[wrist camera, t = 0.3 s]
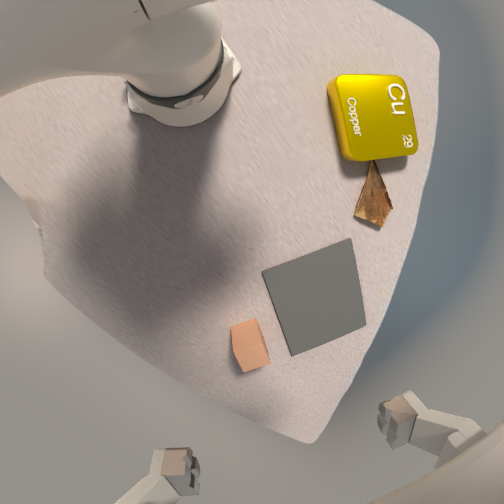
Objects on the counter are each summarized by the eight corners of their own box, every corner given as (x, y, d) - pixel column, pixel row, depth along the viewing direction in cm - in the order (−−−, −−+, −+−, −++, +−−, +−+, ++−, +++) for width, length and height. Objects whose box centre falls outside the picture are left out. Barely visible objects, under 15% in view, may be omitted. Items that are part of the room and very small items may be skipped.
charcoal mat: (261, 271, 50) (262, 272, 49) (349, 238, 50) (351, 238, 49) (291, 354, 56) (292, 356, 56) (365, 323, 56) (366, 324, 56)
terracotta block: (230, 326, 52) (233, 352, 45) (255, 317, 52) (262, 342, 45) (239, 346, 54) (243, 372, 46) (263, 337, 54) (270, 363, 46)
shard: (369, 158, 46) (374, 159, 45) (400, 175, 48) (405, 176, 46) (350, 214, 49) (354, 215, 47) (381, 227, 50) (386, 229, 49)
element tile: (323, 80, 41) (333, 73, 36) (392, 79, 42) (406, 74, 37) (341, 162, 46) (353, 163, 41) (407, 153, 47) (422, 154, 42)
